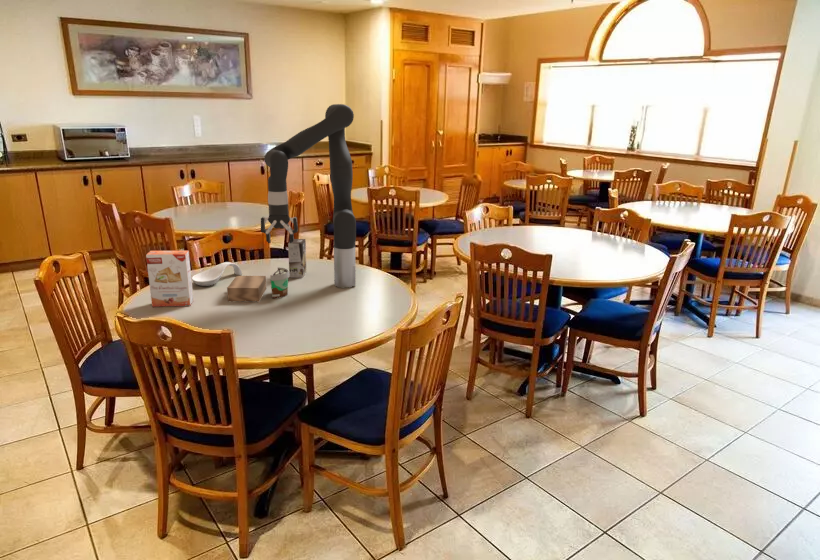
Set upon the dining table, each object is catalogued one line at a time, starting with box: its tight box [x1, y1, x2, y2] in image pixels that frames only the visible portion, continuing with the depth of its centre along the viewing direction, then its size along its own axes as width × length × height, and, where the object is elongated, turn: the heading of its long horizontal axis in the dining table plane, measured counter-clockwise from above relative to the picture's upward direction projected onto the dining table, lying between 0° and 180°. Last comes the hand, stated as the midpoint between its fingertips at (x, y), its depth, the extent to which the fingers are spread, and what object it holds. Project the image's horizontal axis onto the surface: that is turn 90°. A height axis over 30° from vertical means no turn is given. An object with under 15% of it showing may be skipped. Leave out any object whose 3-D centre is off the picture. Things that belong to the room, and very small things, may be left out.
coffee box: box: [287, 238, 308, 279], centre depth 245 cm, size 9×6×16 cm
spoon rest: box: [191, 261, 243, 287], centre depth 236 cm, size 24×12×7 cm, turn 150°
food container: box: [269, 267, 290, 299], centre depth 219 cm, size 12×6×10 cm, turn 179°
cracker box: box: [145, 250, 194, 308], centre depth 204 cm, size 14×6×21 cm, turn 99°
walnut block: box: [226, 275, 267, 303], centre depth 219 cm, size 12×16×6 cm
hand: (280, 242), depth 214 cm, fingers open, 8 cm apart
